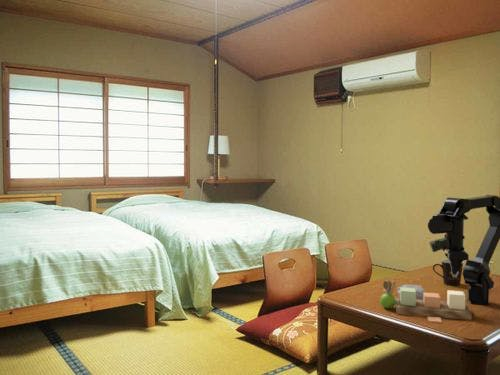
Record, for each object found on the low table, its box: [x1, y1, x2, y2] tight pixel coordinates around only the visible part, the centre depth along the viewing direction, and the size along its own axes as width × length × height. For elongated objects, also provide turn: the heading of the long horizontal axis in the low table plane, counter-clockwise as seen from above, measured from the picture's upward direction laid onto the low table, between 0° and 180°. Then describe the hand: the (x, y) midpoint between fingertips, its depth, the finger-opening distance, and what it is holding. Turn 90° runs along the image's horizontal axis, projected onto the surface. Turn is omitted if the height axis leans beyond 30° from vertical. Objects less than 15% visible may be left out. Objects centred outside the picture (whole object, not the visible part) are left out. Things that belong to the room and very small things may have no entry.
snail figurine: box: [379, 277, 397, 309], centre depth 162 cm, size 5×6×12 cm
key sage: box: [399, 287, 416, 306], centre depth 160 cm, size 5×5×5 cm
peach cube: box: [423, 291, 441, 308], centre depth 158 cm, size 5×5×5 cm
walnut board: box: [394, 297, 473, 321], centre depth 159 cm, size 24×11×2 cm, turn 74°
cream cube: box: [446, 289, 466, 310], centre depth 156 cm, size 5×5×5 cm
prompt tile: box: [427, 316, 443, 324], centre depth 150 cm, size 4×4×1 cm
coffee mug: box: [432, 258, 464, 287], centre depth 195 cm, size 12×9×10 cm
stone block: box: [397, 283, 426, 300], centre depth 177 cm, size 12×5×10 cm
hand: (454, 274), depth 163 cm, fingers closed
